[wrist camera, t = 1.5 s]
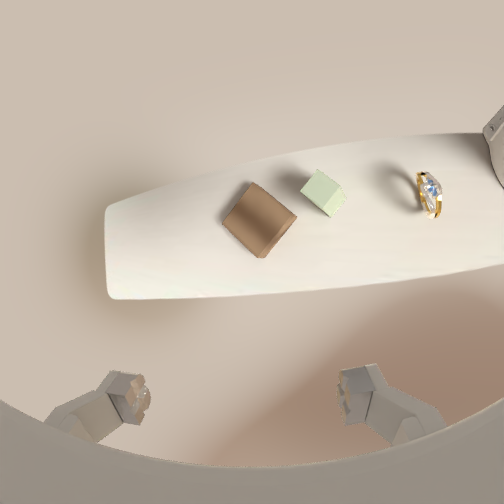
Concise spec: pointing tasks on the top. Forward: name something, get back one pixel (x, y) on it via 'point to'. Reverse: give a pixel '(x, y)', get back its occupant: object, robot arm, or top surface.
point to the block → (324, 193)
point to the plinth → (258, 221)
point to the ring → (424, 194)
